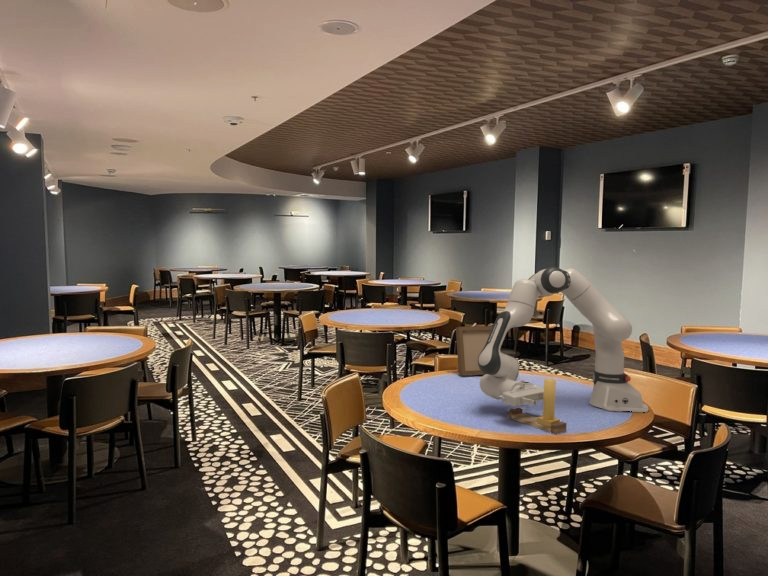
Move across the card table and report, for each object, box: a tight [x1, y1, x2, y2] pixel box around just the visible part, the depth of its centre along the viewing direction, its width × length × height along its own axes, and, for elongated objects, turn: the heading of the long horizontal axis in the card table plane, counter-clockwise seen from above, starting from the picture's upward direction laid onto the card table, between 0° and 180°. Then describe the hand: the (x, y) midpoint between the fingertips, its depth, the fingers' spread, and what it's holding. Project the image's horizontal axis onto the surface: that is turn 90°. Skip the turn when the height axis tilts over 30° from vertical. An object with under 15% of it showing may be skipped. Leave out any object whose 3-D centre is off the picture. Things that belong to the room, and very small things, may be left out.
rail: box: [507, 407, 567, 435], centre depth 199 cm, size 22×6×3 cm, turn 35°
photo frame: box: [455, 325, 493, 376], centre depth 280 cm, size 15×22×25 cm
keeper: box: [537, 378, 561, 427], centre depth 194 cm, size 6×5×16 cm
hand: (543, 401), depth 196 cm, fingers open, 8 cm apart
